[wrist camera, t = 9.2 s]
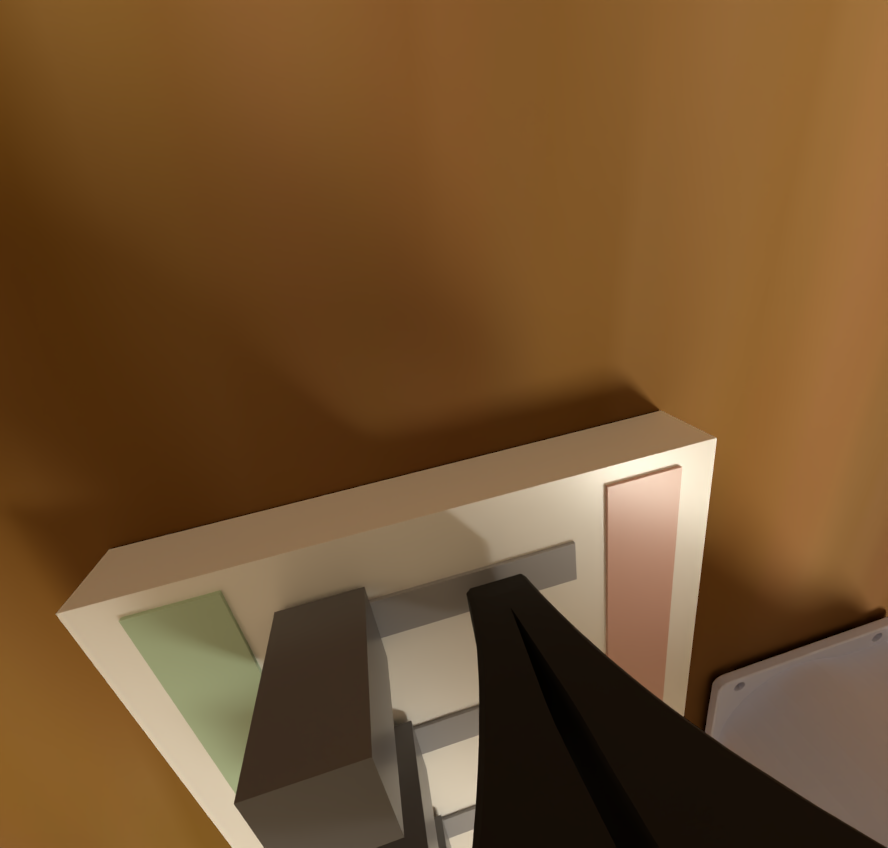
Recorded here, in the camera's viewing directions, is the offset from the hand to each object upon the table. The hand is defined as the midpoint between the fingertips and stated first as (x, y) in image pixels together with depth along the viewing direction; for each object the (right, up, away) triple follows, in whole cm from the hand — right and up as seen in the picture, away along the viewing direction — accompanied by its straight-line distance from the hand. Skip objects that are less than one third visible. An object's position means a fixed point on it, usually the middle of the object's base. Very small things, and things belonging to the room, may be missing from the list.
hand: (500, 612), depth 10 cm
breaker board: (-1, -4, +4) cm, 6 cm away
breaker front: (-4, -1, 0) cm, 4 cm away
